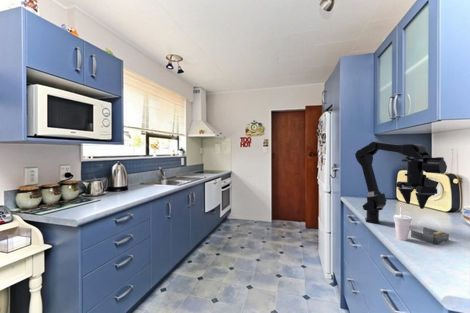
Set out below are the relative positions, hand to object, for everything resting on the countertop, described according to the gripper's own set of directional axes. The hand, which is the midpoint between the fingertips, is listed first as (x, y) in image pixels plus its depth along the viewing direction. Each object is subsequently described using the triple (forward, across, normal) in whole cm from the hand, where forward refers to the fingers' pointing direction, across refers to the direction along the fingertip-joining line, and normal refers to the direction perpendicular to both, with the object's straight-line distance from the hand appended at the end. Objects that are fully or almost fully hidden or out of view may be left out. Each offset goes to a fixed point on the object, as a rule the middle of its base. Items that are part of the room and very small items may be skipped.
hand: (414, 206), depth 100 cm
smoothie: (+13, -6, +9) cm, 17 cm away
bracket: (+13, -4, -3) cm, 14 cm away
